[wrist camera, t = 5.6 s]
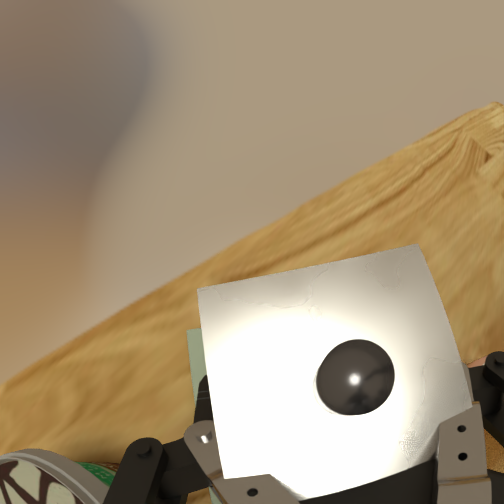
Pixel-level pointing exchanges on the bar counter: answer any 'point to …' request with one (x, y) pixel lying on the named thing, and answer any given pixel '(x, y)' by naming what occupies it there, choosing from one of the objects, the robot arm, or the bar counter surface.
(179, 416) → the bar counter surface
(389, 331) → the steel cover
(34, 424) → the bar counter surface
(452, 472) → the robot arm
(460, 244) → the bar counter surface
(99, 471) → the food container
